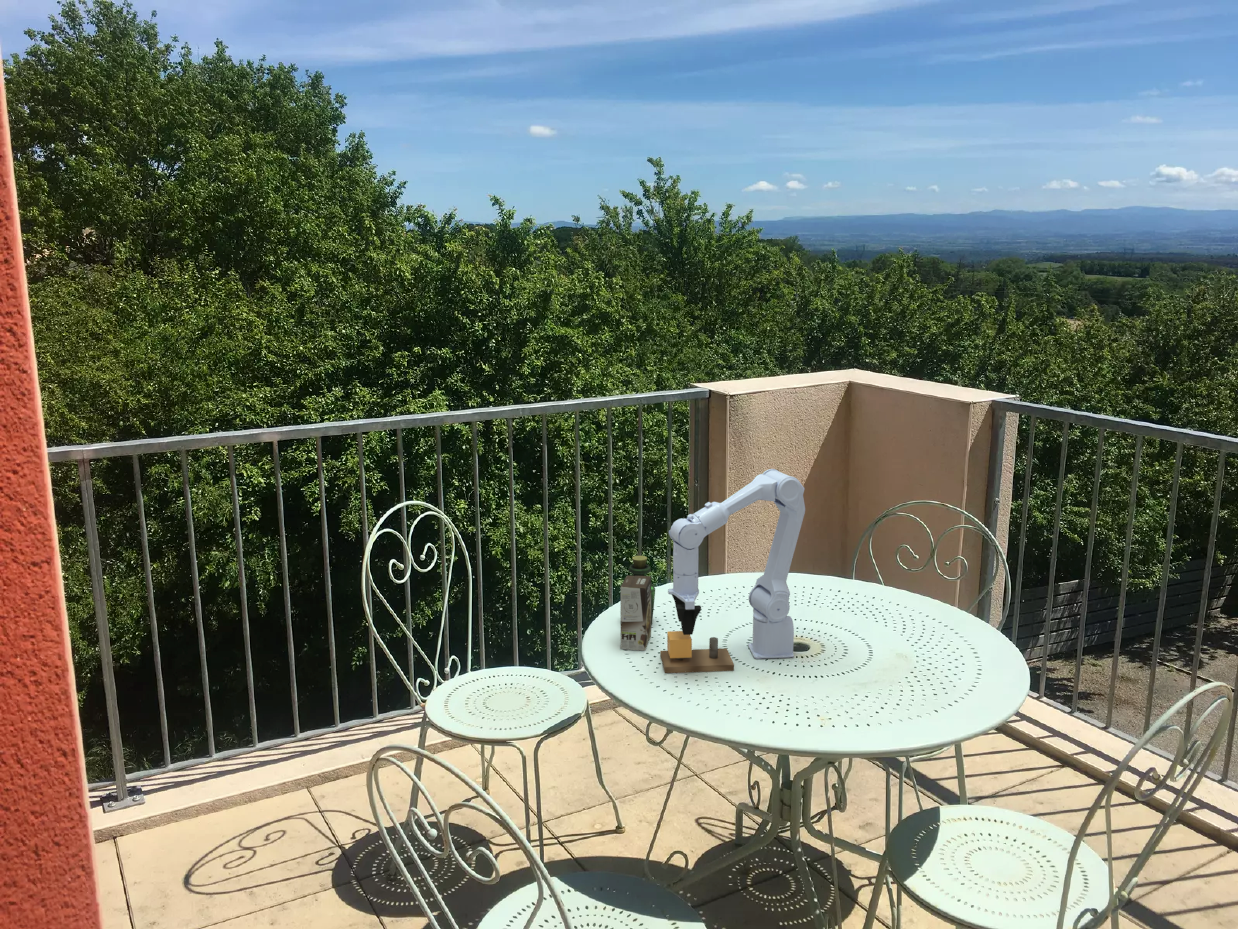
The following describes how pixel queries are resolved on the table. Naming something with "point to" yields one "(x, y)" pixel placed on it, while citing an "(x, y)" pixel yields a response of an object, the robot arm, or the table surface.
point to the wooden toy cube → (679, 644)
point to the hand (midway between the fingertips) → (685, 627)
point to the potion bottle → (642, 569)
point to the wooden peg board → (699, 660)
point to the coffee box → (635, 612)
